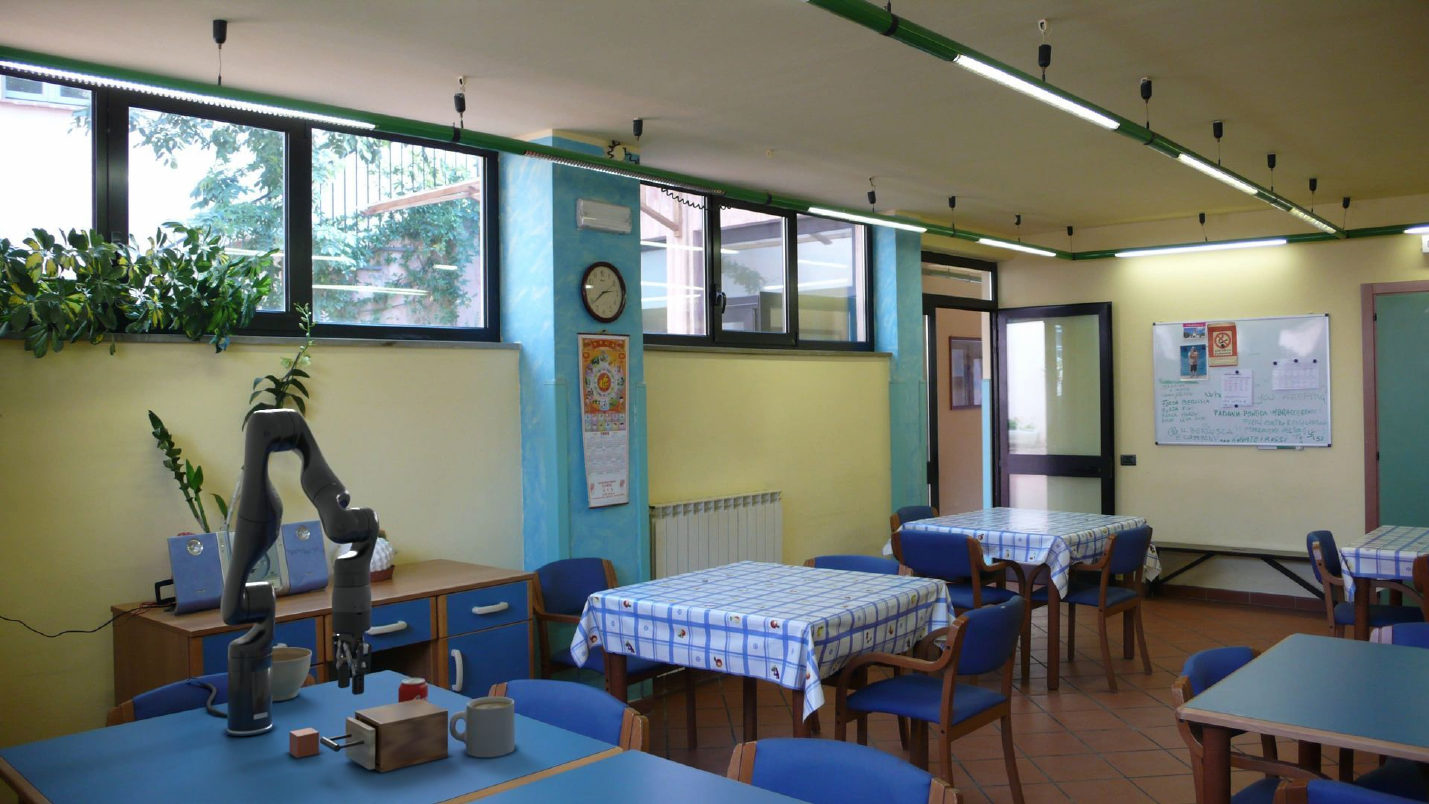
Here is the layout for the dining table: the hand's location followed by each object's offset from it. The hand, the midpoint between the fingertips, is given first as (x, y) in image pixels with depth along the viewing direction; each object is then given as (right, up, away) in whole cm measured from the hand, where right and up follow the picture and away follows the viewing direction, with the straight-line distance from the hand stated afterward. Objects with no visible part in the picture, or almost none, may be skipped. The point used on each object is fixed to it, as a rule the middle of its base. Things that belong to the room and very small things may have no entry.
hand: (350, 690), depth 209 cm
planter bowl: (-37, -17, +54) cm, 68 cm away
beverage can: (+6, -16, +23) cm, 29 cm away
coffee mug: (+24, -16, +12) cm, 31 cm away
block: (-13, -16, +9) cm, 23 cm away
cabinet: (+8, -16, +7) cm, 19 cm away
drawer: (+4, -15, +3) cm, 16 cm away
